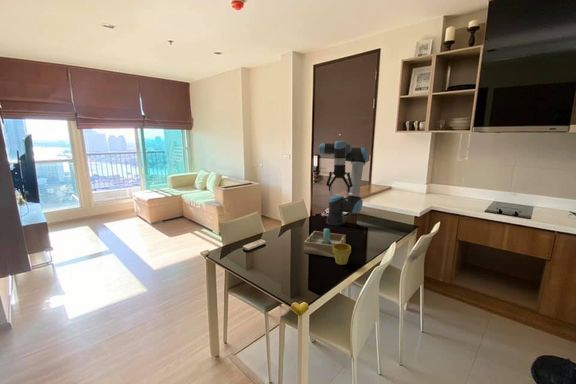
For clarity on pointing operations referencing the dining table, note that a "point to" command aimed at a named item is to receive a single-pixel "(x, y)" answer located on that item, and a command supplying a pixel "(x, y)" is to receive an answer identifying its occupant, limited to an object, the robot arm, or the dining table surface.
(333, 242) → the box
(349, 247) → the plant pot
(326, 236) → the peg
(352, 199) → the robot arm
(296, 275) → the dining table surface
